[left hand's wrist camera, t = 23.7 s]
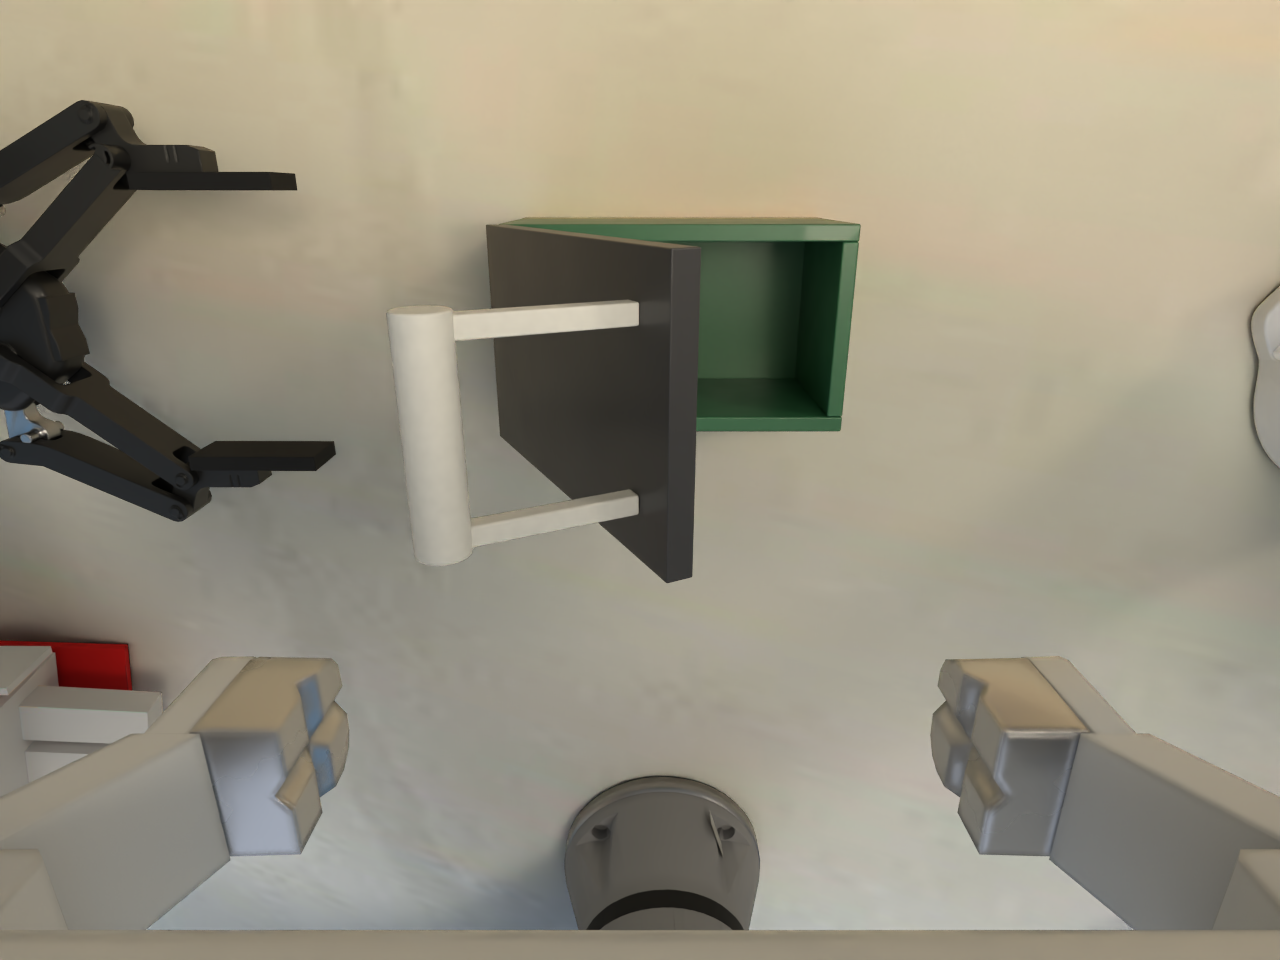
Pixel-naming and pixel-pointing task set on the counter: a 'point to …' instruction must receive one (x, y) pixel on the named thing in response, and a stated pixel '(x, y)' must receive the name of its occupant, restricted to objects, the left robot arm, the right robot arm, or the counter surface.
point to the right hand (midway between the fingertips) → (306, 327)
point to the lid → (562, 394)
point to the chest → (760, 314)
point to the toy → (64, 705)
